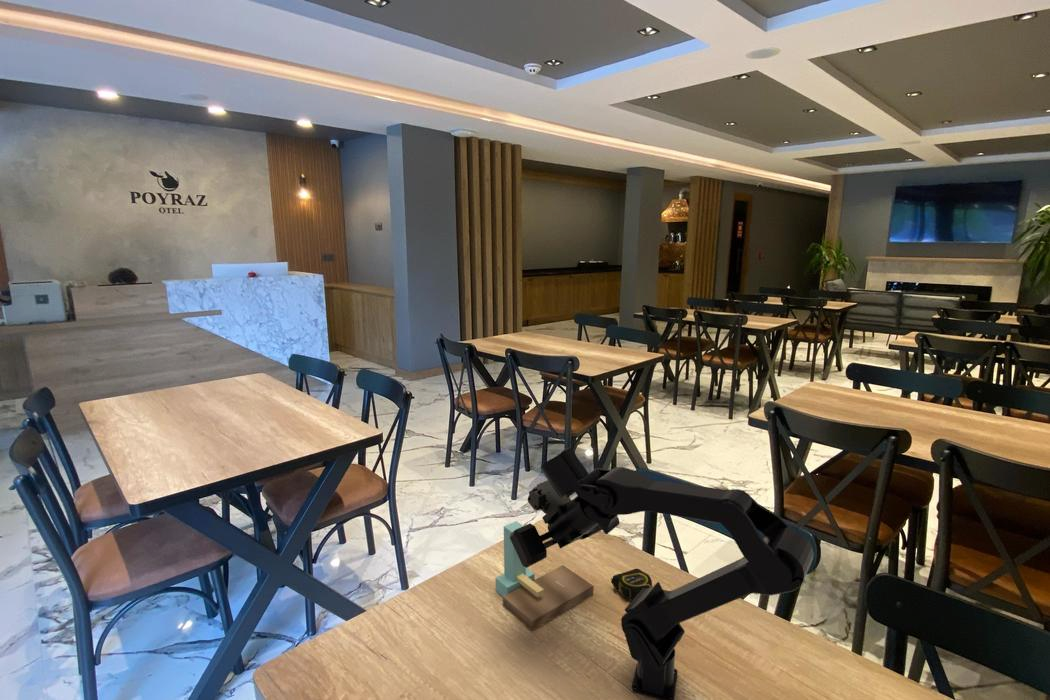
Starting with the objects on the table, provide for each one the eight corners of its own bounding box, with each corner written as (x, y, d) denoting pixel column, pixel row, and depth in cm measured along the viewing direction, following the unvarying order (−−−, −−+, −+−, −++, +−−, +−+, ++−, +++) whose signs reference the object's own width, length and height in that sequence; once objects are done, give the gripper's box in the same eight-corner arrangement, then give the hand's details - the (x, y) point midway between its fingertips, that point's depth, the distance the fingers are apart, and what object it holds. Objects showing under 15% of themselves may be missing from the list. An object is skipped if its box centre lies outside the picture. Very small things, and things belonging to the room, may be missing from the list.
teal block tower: (526, 617, 101) (526, 550, 98) (495, 591, 109) (494, 528, 106) (554, 601, 105) (554, 537, 103) (522, 577, 113) (521, 517, 110)
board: (532, 630, 98) (532, 620, 97) (503, 605, 104) (502, 595, 104) (593, 594, 107) (593, 585, 107) (562, 573, 114) (562, 564, 114)
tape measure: (638, 579, 112) (638, 563, 111) (658, 599, 106) (659, 582, 105) (610, 588, 109) (611, 572, 109) (629, 609, 103) (630, 591, 103)
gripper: (594, 459, 99) (554, 493, 110) (515, 488, 88) (479, 523, 99) (625, 514, 95) (581, 544, 106) (547, 553, 84) (505, 581, 94)
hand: (538, 546), depth 101 cm, fingers open, 9 cm apart
